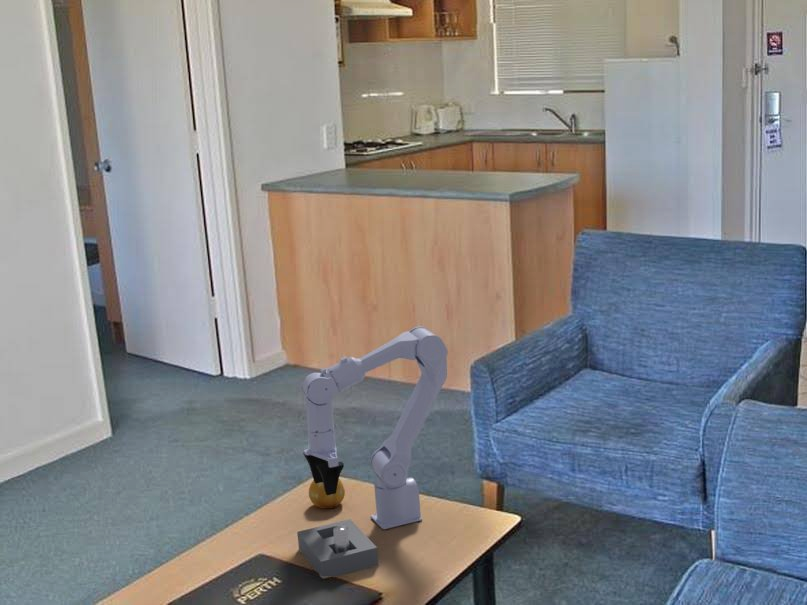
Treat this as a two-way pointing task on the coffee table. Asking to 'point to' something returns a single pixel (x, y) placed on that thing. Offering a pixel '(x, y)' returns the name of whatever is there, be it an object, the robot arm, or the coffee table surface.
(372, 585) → the coffee table surface
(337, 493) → the fruit
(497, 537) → the coffee table surface
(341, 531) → the pin
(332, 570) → the hole board
